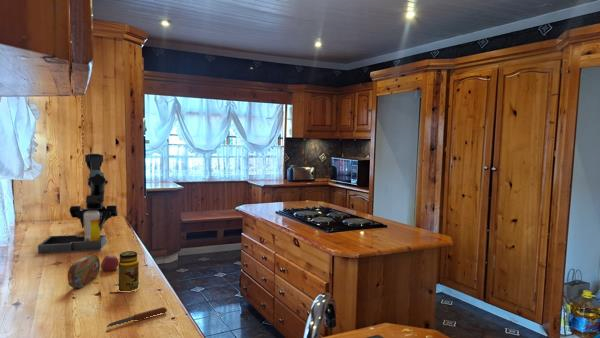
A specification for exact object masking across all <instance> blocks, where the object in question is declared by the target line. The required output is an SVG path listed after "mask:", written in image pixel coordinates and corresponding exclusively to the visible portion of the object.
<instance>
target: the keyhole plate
mask: <svg viewBox="0 0 600 338" xmlns="http://www.w3.org/2000/svg"><path fill="white" fill-rule="evenodd" d="M107 242H108V240H107V236H106V234H100V240H99V241H84V235H81V234H71V235H70V234H68V235H49V236H48V237H47V238H46V239H44V240H43V241H41V243H39V244H38V245H37V254H38V255H47V254H49V255H50V254H63V253H67V254H68V253H86V252H101V251H102V249H103V248H104V246H105V245H106V243H107Z"/></svg>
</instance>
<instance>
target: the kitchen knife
mask: <svg viewBox="0 0 600 338" xmlns="http://www.w3.org/2000/svg"><path fill="white" fill-rule="evenodd" d="M167 311H168V309H167V308H166V307H164V306H163V307H158V308H155V309H151V310H147V311H144V312H140V313H136V314H133V316H128V317H126V318H122V319H119V320H116V321H113V322H110V323H108V325H107V326H106V328H110V327H114V326H113V325H115V326H117V325H116V324H119V325H122V324H121V323H123V324H125V323H124V322H127V323H129V322H128V321H131V320H140V319H143V320H145V319H144V318H146V317H150V316H153V315H157V314H160V313H165V312H166V313H167ZM166 313H165V314H166ZM140 321H141V320H140ZM131 322H132V321H131ZM109 326H110V327H109Z"/></svg>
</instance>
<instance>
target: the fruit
mask: <svg viewBox="0 0 600 338" xmlns="http://www.w3.org/2000/svg"><path fill="white" fill-rule="evenodd" d="M119 261H120V257H118V258H117V256H116V255H114V254H108V255H105V256H104V257H103V259H102V261H101V263H100V269H101V270H102V271H103V272H114V271H115V270H116V269H117V268H119Z"/></svg>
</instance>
